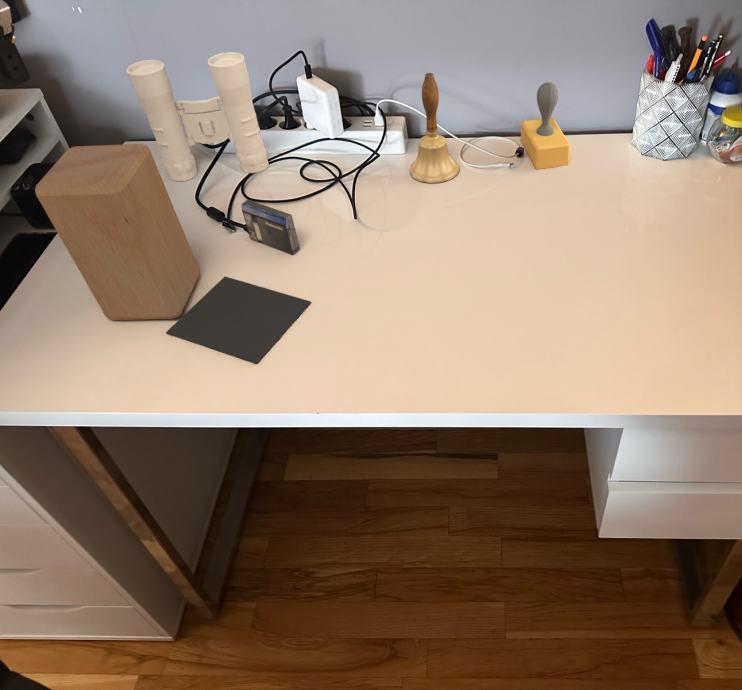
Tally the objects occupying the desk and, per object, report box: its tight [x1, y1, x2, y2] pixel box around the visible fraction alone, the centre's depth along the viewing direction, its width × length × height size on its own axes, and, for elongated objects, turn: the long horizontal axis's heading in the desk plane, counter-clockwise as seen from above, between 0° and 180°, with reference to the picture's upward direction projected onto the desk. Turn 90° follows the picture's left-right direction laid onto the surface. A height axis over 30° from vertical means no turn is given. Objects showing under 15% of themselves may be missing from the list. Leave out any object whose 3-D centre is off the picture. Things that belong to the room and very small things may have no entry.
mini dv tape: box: [240, 199, 301, 256], centre depth 96 cm, size 8×2×6 cm, turn 60°
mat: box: [165, 275, 312, 365], centre depth 87 cm, size 12×14×1 cm
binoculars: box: [126, 51, 269, 182], centre depth 107 cm, size 17×5×18 cm, turn 100°
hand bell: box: [408, 72, 460, 184], centre depth 106 cm, size 8×8×16 cm
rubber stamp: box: [520, 81, 571, 170], centre depth 110 cm, size 10×6×12 cm, turn 11°
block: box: [34, 143, 200, 321], centre depth 83 cm, size 10×10×20 cm
